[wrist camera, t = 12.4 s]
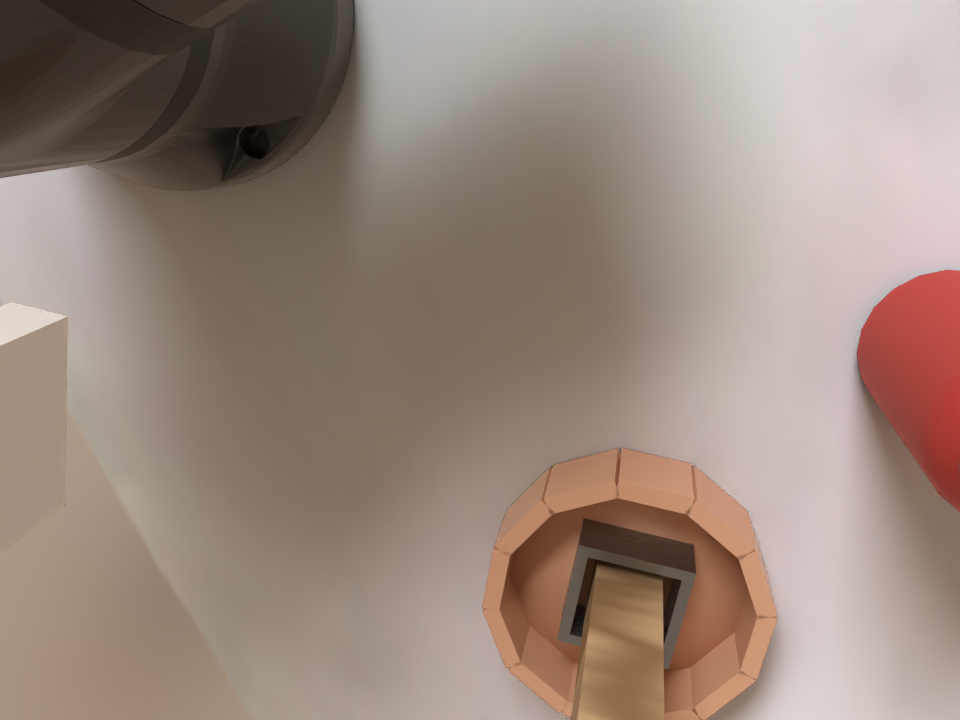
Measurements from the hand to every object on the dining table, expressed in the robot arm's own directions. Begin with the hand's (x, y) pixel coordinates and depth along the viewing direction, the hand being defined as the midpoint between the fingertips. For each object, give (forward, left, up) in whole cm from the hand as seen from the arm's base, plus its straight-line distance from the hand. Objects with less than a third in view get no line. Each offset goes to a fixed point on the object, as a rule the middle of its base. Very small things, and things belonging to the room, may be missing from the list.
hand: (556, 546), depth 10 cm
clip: (+4, -17, -28) cm, 33 cm away
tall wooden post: (+4, -17, -27) cm, 32 cm away
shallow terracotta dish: (+4, -17, -28) cm, 33 cm away
